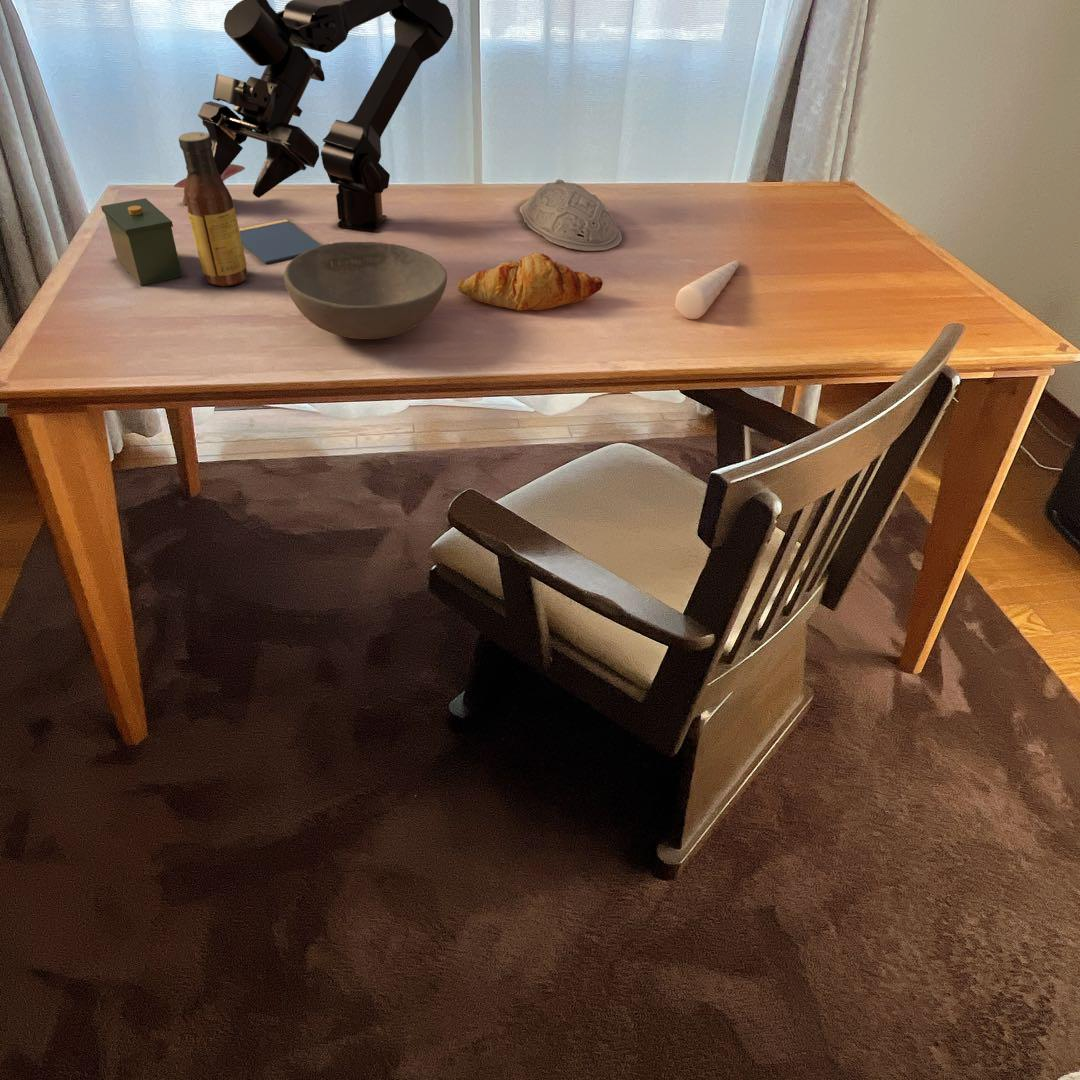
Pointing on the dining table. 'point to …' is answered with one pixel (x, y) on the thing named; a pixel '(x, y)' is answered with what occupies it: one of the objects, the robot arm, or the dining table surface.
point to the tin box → (143, 240)
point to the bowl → (365, 288)
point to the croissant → (530, 284)
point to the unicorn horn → (703, 291)
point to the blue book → (276, 241)
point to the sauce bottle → (212, 214)
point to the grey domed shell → (577, 203)
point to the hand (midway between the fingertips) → (232, 188)
